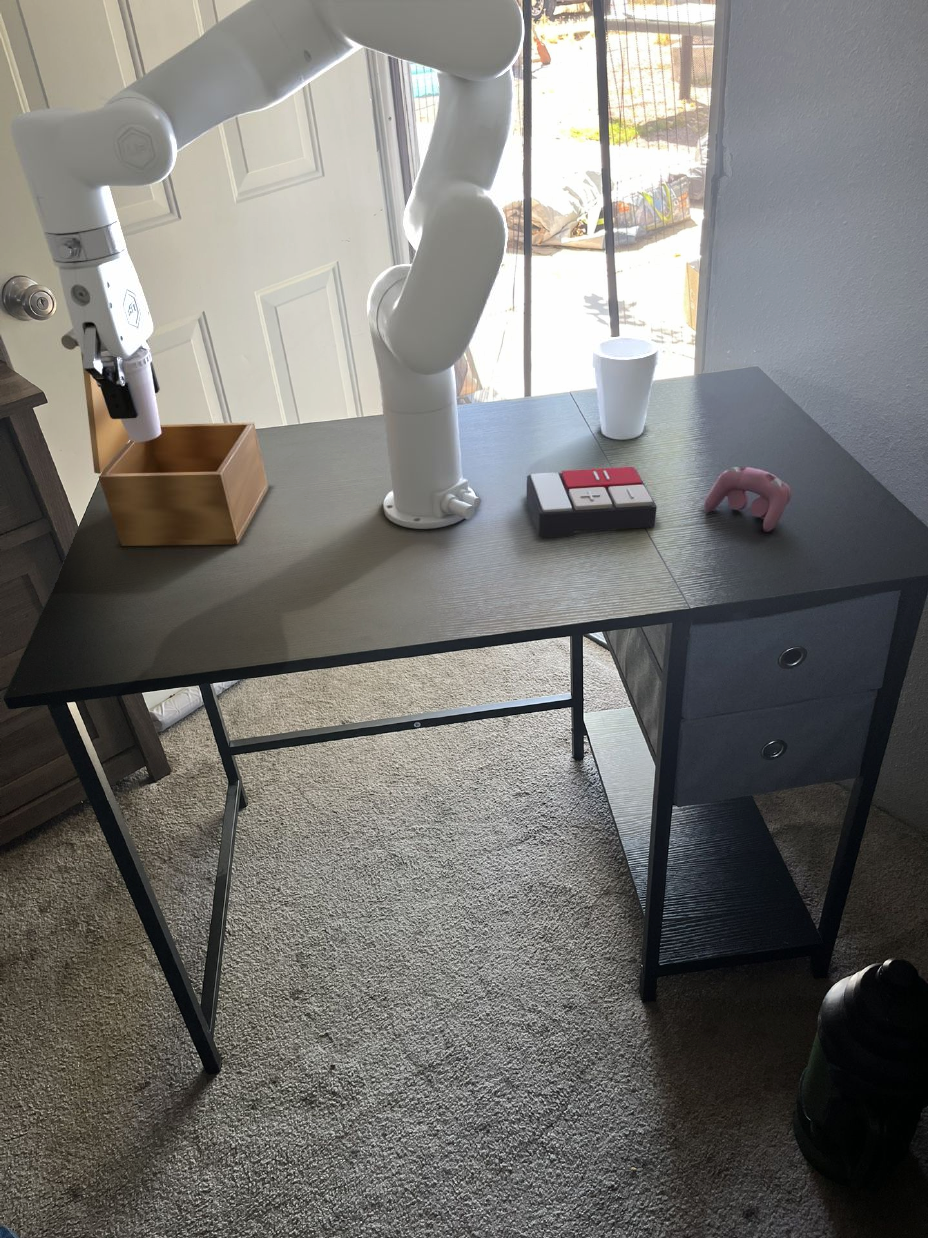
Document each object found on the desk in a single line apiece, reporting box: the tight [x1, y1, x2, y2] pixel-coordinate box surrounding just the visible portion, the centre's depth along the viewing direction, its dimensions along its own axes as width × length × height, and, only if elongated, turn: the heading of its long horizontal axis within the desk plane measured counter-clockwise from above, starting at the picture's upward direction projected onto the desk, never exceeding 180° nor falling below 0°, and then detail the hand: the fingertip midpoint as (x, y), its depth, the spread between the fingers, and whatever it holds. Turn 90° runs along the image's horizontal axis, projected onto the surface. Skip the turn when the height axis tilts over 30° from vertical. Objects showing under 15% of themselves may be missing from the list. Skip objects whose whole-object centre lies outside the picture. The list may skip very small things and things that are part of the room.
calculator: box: [525, 466, 658, 539], centre depth 120 cm, size 11×4×15 cm
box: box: [98, 421, 269, 547], centre depth 125 cm, size 16×16×10 cm
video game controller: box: [703, 466, 792, 533], centre depth 117 cm, size 10×5×7 cm, turn 47°
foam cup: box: [591, 336, 659, 440], centre depth 137 cm, size 10×9×13 cm
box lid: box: [60, 328, 130, 475], centre depth 118 cm, size 17×16×5 cm
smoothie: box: [101, 347, 161, 442], centre depth 105 cm, size 6×6×14 cm
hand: (135, 403), depth 107 cm, fingers closed on smoothie, 6 cm apart
